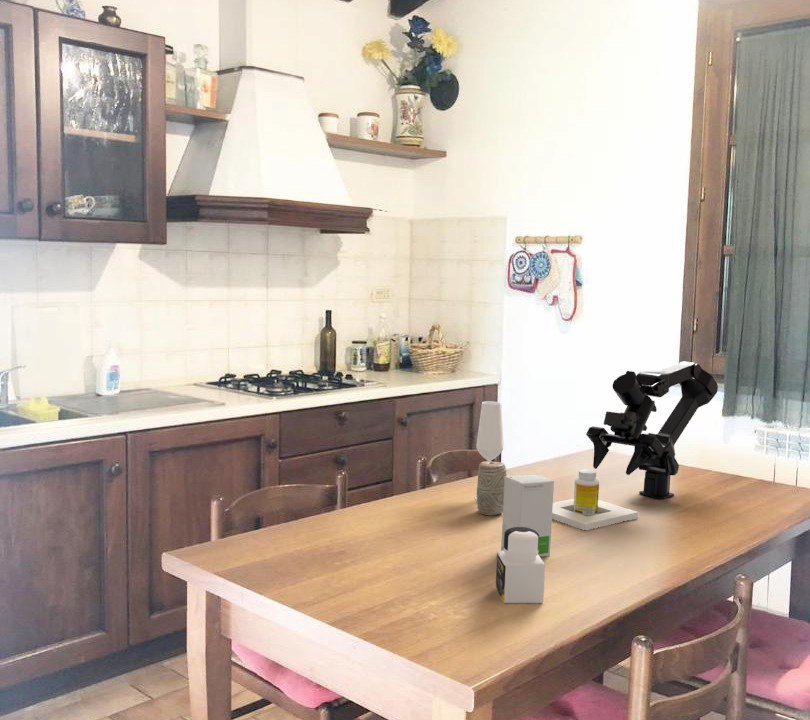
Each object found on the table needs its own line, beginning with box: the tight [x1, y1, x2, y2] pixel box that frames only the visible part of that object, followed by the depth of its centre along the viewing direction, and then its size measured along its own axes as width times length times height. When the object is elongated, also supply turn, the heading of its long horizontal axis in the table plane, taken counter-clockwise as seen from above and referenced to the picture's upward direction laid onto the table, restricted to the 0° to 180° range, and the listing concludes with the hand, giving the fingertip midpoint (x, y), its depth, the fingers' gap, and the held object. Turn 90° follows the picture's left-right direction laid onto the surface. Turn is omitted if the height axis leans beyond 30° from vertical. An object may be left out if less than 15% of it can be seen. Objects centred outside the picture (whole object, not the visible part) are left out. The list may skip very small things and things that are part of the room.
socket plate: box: [552, 498, 639, 531], centre depth 205 cm, size 18×16×2 cm
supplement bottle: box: [573, 468, 600, 517], centre depth 205 cm, size 6×6×10 cm
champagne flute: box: [474, 400, 504, 500], centre depth 216 cm, size 7×7×24 cm
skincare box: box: [500, 474, 555, 558], centre depth 177 cm, size 8×7×16 cm
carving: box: [476, 460, 508, 516], centre depth 204 cm, size 6×8×12 cm
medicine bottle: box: [495, 527, 546, 604], centre depth 154 cm, size 7×7×12 cm
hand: (610, 470), depth 209 cm, fingers open, 9 cm apart
